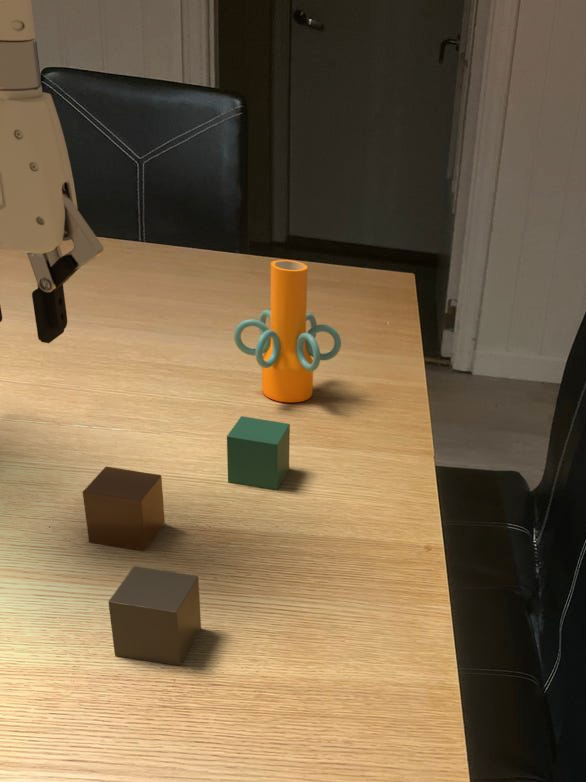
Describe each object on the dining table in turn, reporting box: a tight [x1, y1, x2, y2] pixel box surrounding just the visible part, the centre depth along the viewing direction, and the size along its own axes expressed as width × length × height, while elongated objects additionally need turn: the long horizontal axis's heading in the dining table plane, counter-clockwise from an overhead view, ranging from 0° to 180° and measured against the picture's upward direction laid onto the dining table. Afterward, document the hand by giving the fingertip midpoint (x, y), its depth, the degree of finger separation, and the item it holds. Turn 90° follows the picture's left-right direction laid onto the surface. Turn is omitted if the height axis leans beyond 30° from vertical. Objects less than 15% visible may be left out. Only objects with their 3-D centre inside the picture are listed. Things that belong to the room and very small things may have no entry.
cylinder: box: [233, 259, 342, 403], centre depth 109 cm, size 12×10×15 cm
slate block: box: [107, 565, 202, 667], centre depth 71 cm, size 5×5×5 cm
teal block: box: [226, 416, 291, 490], centre depth 95 cm, size 5×5×5 cm
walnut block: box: [82, 466, 166, 552], centre depth 83 cm, size 5×5×5 cm
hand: (20, 329), depth 74 cm, fingers open, 4 cm apart
